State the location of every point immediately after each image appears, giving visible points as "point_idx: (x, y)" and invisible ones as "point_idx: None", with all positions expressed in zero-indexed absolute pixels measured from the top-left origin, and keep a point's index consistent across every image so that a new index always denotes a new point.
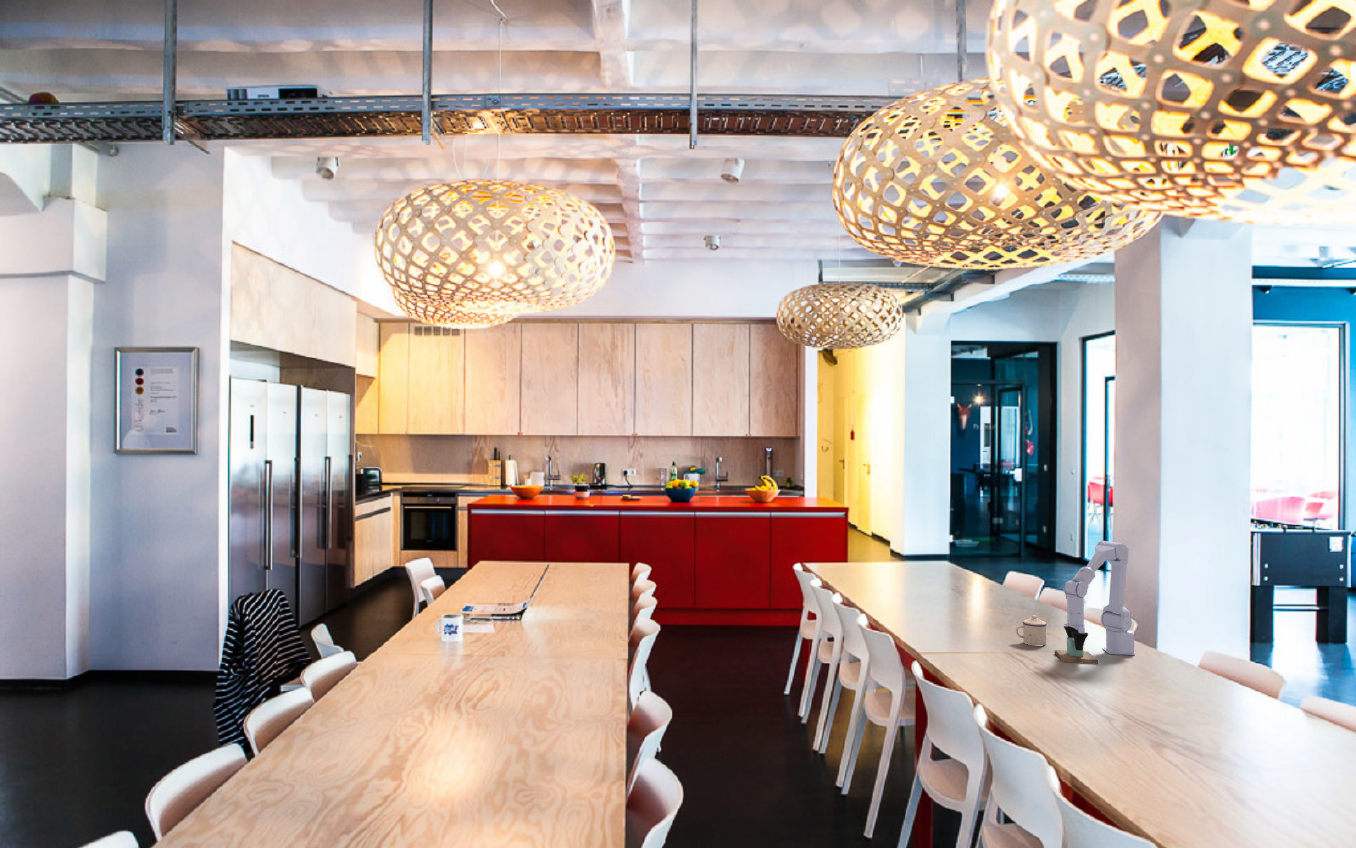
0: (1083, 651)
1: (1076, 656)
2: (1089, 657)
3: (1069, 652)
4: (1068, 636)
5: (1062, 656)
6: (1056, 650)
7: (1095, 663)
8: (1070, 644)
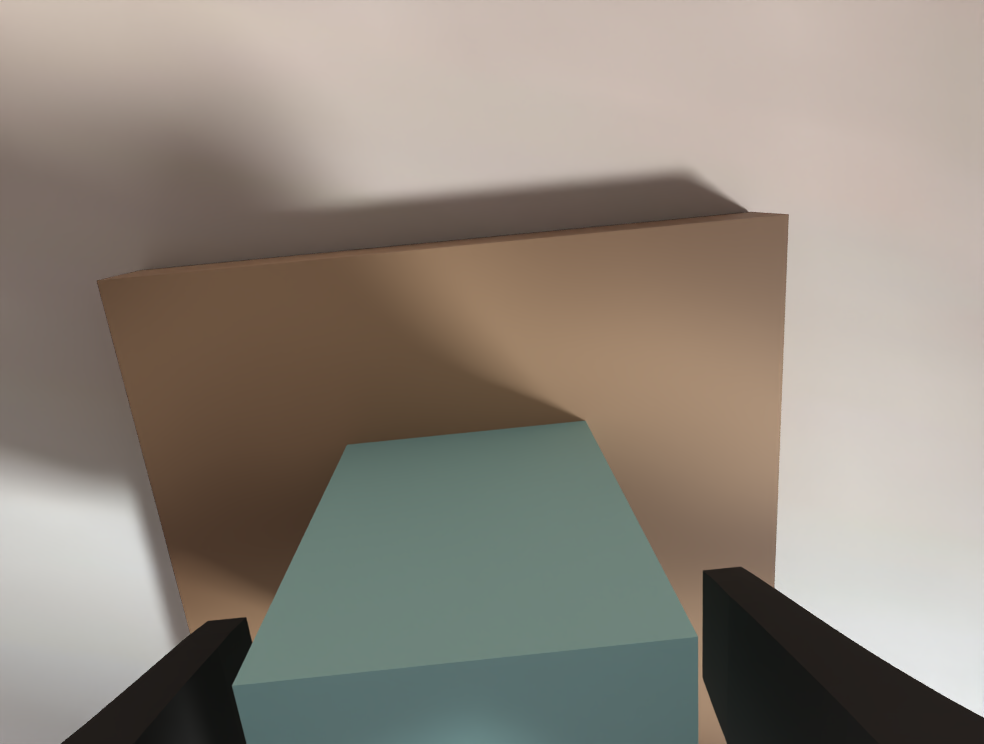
0: None
1: None
2: None
3: (420, 458)
4: (848, 715)
5: (237, 272)
6: (756, 245)
7: None
8: (291, 584)
